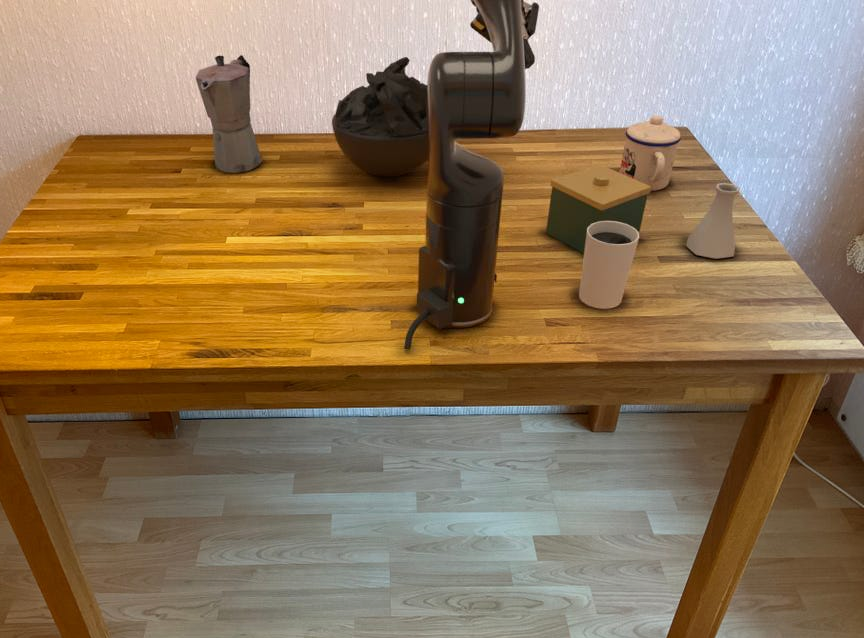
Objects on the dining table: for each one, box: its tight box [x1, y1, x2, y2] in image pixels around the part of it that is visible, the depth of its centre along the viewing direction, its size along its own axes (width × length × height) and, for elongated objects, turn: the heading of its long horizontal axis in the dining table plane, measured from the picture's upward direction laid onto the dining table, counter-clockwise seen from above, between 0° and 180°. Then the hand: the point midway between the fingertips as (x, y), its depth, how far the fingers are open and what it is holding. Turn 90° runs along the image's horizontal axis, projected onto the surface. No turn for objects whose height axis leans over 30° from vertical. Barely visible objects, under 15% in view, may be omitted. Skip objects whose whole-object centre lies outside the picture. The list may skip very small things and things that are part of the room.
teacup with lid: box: [618, 114, 682, 192], centre depth 127 cm, size 12×9×12 cm
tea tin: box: [545, 163, 652, 255], centre depth 113 cm, size 10×10×10 cm
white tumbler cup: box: [578, 221, 640, 310], centre depth 99 cm, size 7×7×10 cm
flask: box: [685, 182, 740, 260], centre depth 110 cm, size 7×7×10 cm
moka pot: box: [195, 54, 263, 174], centre depth 134 cm, size 10×15×20 cm, turn 163°
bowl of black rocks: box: [331, 56, 429, 178], centre depth 131 cm, size 20×20×19 cm
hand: (528, 66), depth 114 cm, fingers closed
